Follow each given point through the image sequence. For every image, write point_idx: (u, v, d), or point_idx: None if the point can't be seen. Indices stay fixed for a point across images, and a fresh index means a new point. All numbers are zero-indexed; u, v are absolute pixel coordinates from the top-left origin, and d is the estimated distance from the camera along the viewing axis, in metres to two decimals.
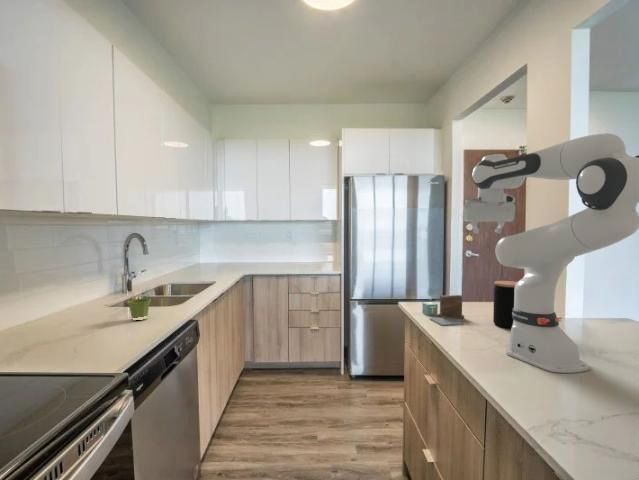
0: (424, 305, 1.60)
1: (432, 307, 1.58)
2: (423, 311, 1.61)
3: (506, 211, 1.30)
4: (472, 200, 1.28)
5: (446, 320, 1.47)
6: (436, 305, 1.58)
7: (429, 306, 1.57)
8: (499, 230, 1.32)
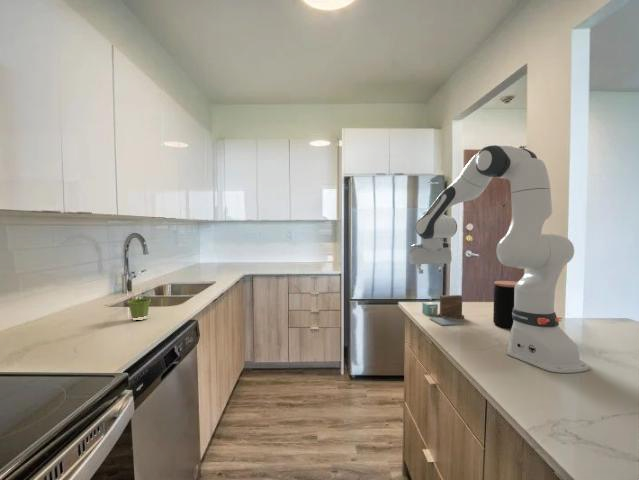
0: (424, 305, 1.60)
1: (432, 307, 1.58)
2: (423, 311, 1.61)
3: (444, 255, 1.59)
4: (415, 246, 1.57)
5: (446, 320, 1.47)
6: (436, 305, 1.58)
7: (429, 306, 1.57)
8: (440, 270, 1.59)
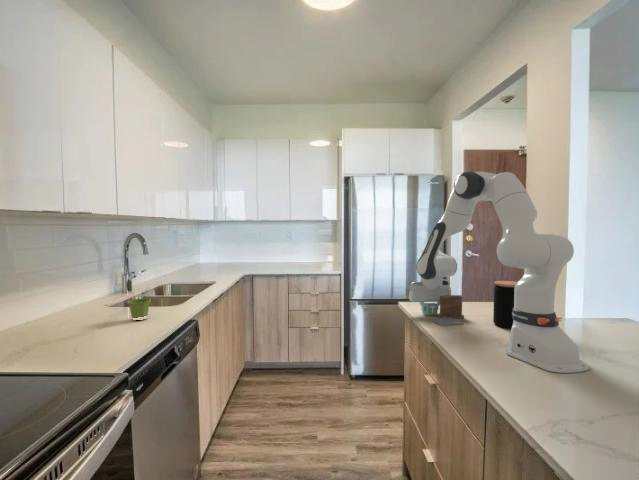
0: (424, 305, 1.60)
1: (432, 307, 1.58)
2: (423, 311, 1.61)
3: (444, 292, 1.59)
4: (415, 284, 1.58)
5: (446, 320, 1.47)
6: (436, 305, 1.58)
7: (429, 306, 1.57)
8: None
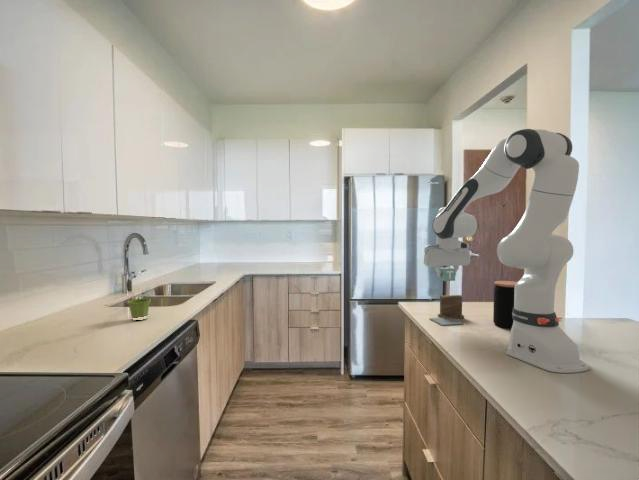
0: (440, 270, 1.46)
1: (449, 272, 1.43)
2: (439, 277, 1.47)
3: (462, 256, 1.45)
4: (431, 247, 1.43)
5: (446, 320, 1.47)
6: (454, 270, 1.44)
7: (446, 271, 1.43)
8: None
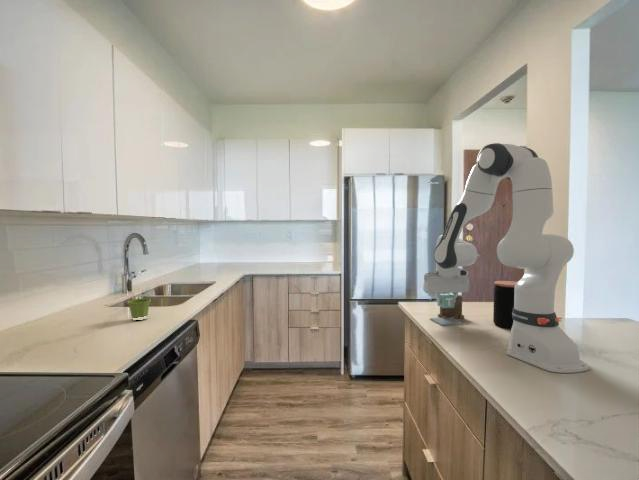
0: (440, 297, 1.46)
1: (449, 299, 1.44)
2: (438, 303, 1.48)
3: (461, 283, 1.46)
4: (430, 274, 1.44)
5: (446, 320, 1.47)
6: (453, 297, 1.44)
7: (445, 298, 1.44)
8: None
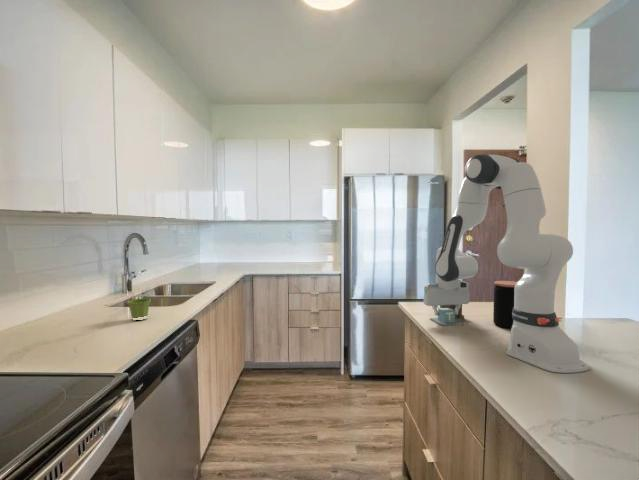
0: (440, 311, 1.46)
1: (449, 313, 1.44)
2: (439, 318, 1.47)
3: (462, 295, 1.46)
4: (430, 286, 1.44)
5: None
6: (453, 311, 1.44)
7: (446, 312, 1.44)
8: (456, 312, 1.46)
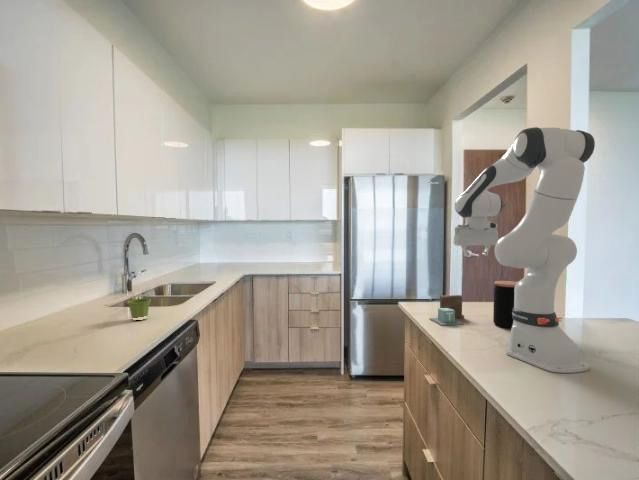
0: (440, 311, 1.46)
1: (449, 313, 1.44)
2: (439, 318, 1.47)
3: (491, 236, 1.49)
4: (461, 227, 1.47)
5: None
6: (453, 311, 1.44)
7: (446, 312, 1.44)
8: (486, 253, 1.50)
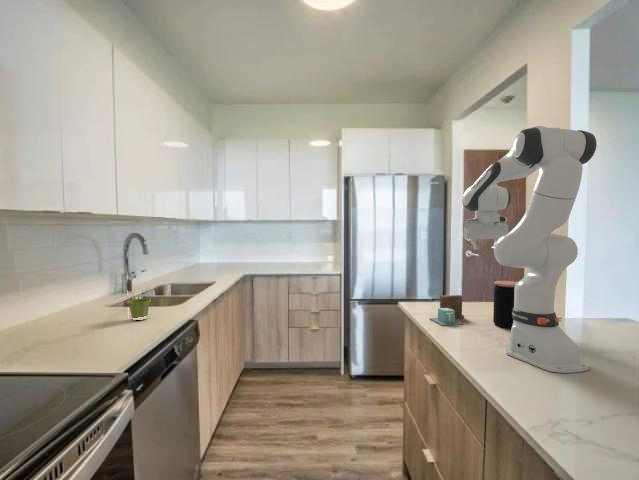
0: (440, 311, 1.46)
1: (449, 313, 1.44)
2: (439, 318, 1.47)
3: (500, 230, 1.50)
4: (470, 221, 1.49)
5: None
6: (453, 311, 1.44)
7: (446, 312, 1.44)
8: None
